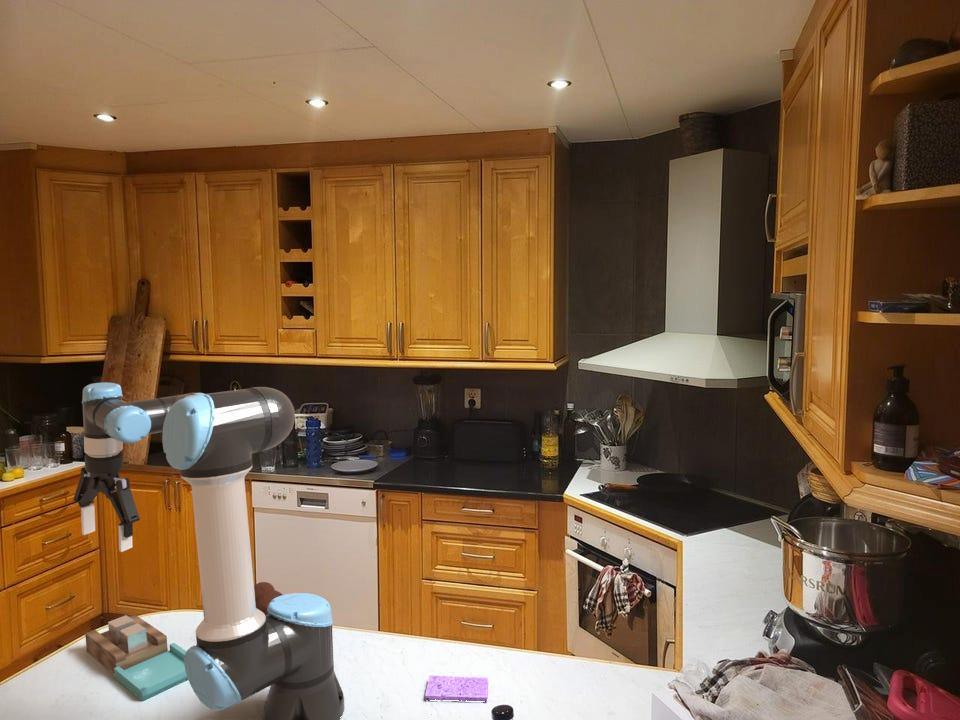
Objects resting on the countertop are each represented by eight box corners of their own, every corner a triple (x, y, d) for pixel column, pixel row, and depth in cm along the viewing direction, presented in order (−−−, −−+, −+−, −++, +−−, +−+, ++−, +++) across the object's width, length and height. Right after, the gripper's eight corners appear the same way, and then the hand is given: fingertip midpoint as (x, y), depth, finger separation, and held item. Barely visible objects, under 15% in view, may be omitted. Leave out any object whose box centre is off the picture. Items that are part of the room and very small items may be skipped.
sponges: (429, 683, 141) (429, 674, 141) (489, 684, 141) (489, 676, 140) (424, 703, 134) (424, 695, 134) (487, 705, 134) (487, 696, 133)
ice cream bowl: (230, 657, 151) (227, 593, 149) (260, 632, 162) (257, 572, 160) (271, 664, 148) (268, 599, 146) (299, 638, 159) (296, 577, 157)
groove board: (167, 654, 152) (166, 635, 152) (117, 676, 144) (115, 657, 143) (136, 632, 162) (134, 614, 162) (86, 651, 154) (85, 633, 154)
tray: (203, 672, 145) (203, 662, 145) (142, 701, 135) (141, 691, 135) (174, 651, 154) (173, 642, 153) (114, 677, 144) (113, 668, 143)
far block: (135, 637, 154) (133, 620, 154) (117, 644, 151) (115, 627, 151) (127, 631, 157) (126, 615, 156) (109, 638, 154) (108, 622, 153)
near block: (147, 645, 151) (146, 628, 150) (128, 653, 148) (127, 636, 147) (139, 639, 153) (137, 623, 153) (120, 647, 150) (119, 630, 150)
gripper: (156, 460, 147) (157, 550, 151) (86, 436, 158) (89, 520, 162) (124, 469, 141) (126, 563, 145) (53, 444, 152) (57, 531, 156)
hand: (106, 541), depth 153 cm, fingers open, 13 cm apart
